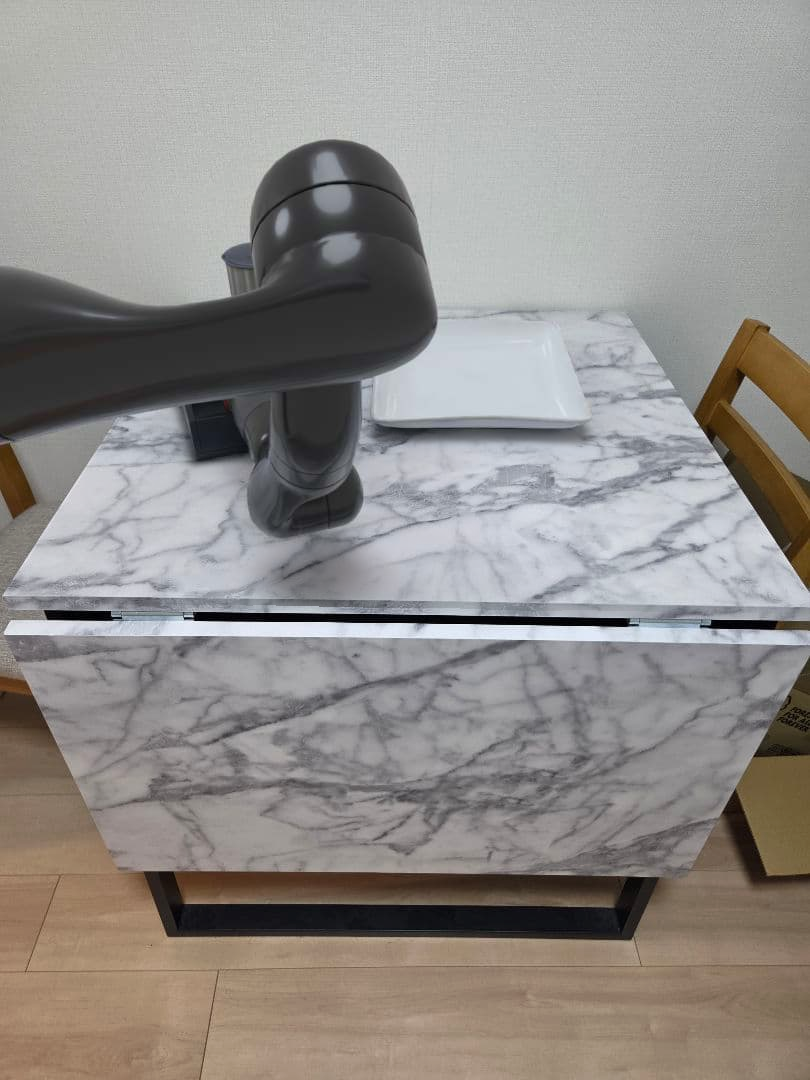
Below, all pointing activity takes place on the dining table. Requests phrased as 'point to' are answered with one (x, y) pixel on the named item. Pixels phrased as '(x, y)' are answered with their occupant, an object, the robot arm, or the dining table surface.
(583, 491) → the dining table surface
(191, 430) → the black open box
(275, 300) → the robot arm
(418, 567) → the dining table surface
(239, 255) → the milk frother
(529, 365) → the square plate
